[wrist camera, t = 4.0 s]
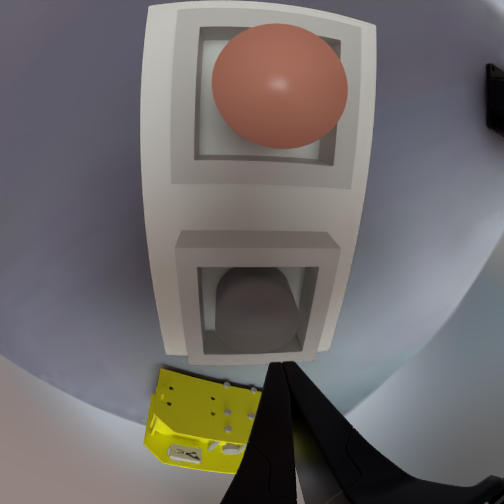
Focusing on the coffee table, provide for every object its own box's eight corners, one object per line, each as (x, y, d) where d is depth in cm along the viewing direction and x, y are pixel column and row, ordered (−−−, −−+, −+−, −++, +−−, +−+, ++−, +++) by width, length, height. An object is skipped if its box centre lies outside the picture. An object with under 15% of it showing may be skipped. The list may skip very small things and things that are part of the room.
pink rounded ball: (323, 51, 9) (349, 36, 7) (317, 146, 11) (342, 154, 9) (218, 42, 9) (215, 19, 6) (213, 141, 11) (209, 147, 8)
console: (354, 36, 13) (395, 15, 8) (318, 325, 22) (337, 371, 18) (160, 22, 12) (137, -10, 7) (171, 328, 21) (162, 377, 17)
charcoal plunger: (293, 261, 16) (305, 288, 13) (285, 321, 18) (293, 352, 15) (215, 261, 16) (213, 289, 13) (216, 322, 17) (216, 354, 15)
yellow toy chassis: (152, 390, 25) (141, 459, 18) (162, 359, 23) (149, 438, 16) (286, 417, 29) (298, 476, 22) (312, 391, 27) (330, 456, 20)
